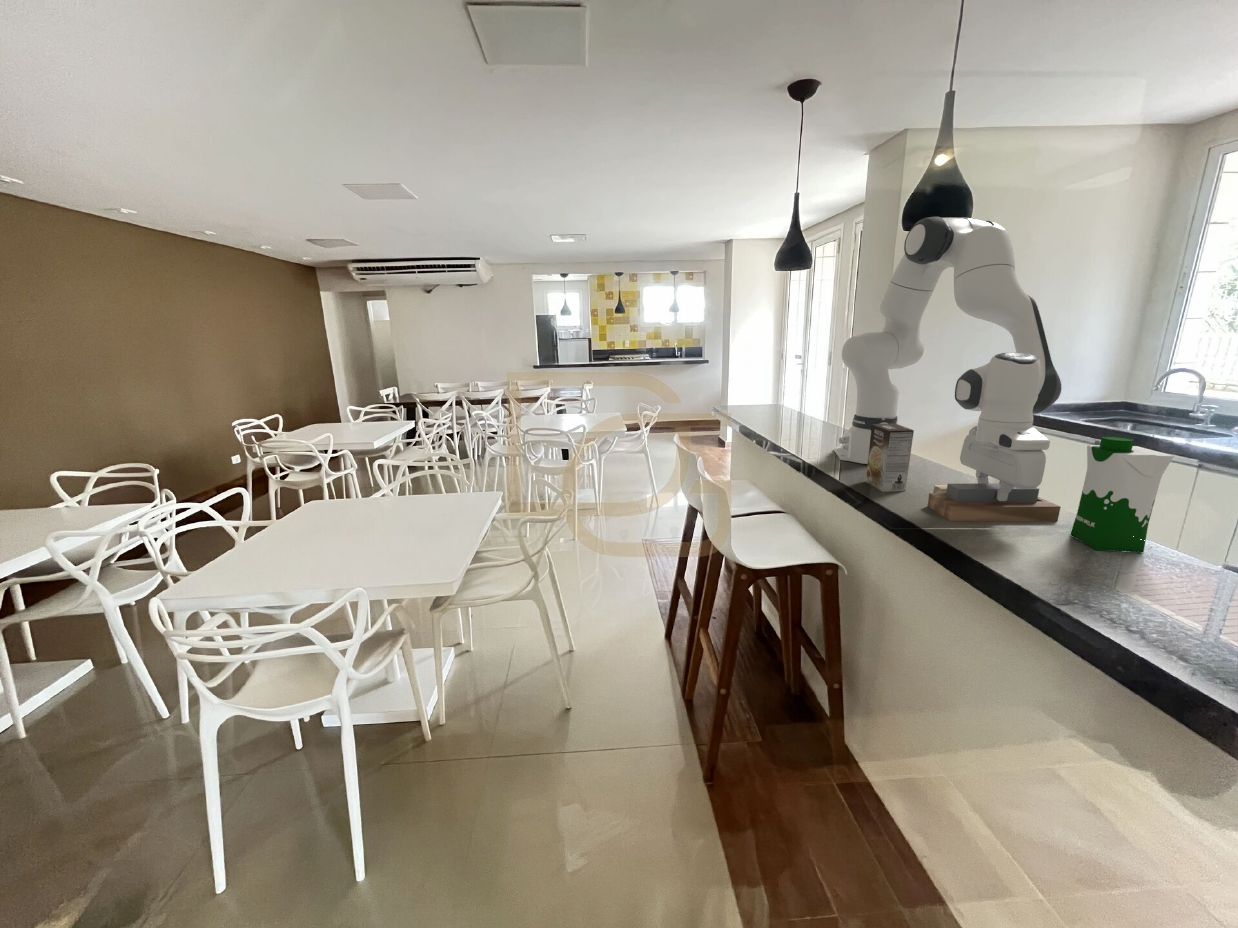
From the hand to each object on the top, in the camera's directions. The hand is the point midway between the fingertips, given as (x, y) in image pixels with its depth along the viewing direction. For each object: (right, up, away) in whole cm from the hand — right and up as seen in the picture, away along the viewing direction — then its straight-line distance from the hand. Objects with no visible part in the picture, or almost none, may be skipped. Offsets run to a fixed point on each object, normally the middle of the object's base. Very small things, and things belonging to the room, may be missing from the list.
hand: (991, 495), depth 103 cm
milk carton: (+10, -8, -14) cm, 19 cm away
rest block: (0, -1, +13) cm, 13 cm away
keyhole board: (0, -4, +1) cm, 4 cm away
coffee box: (-11, +1, +22) cm, 24 cm away
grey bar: (0, -3, +1) cm, 3 cm away
